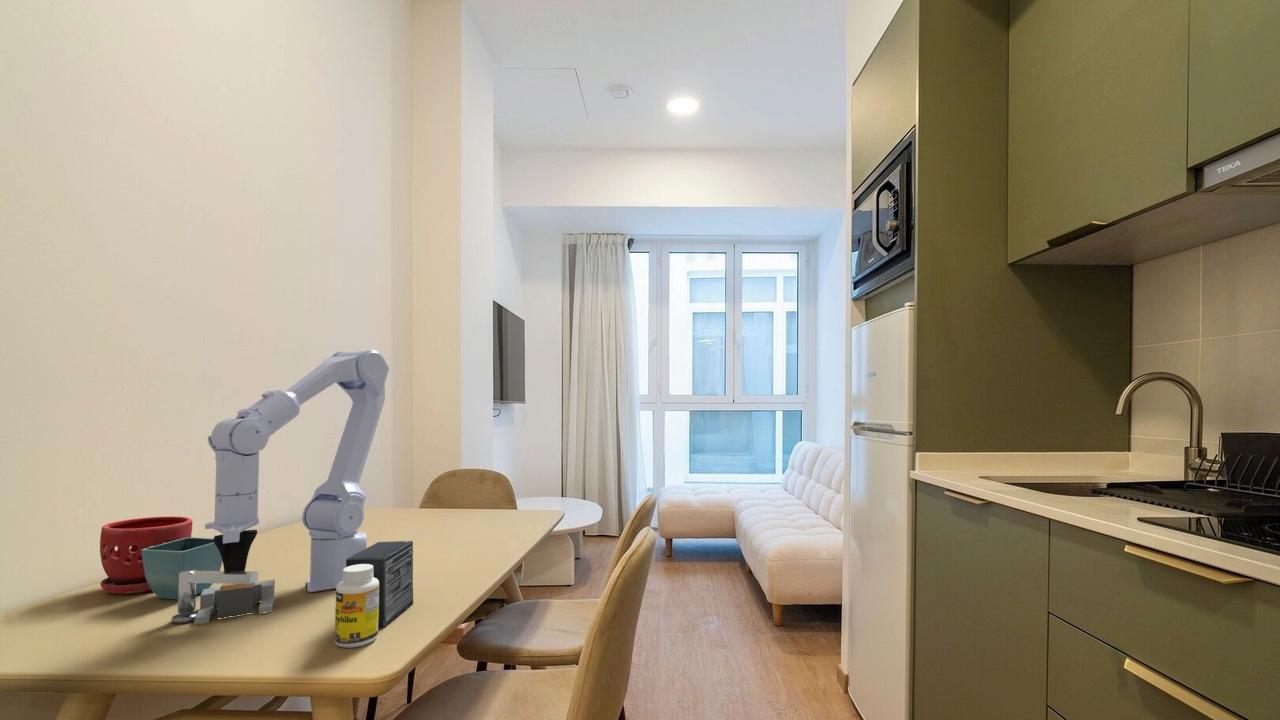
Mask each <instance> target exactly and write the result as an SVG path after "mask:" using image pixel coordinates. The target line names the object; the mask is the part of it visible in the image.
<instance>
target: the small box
mask: <svg viewBox="0 0 1280 720" xmlns="http://www.w3.org/2000/svg"><path fill="white" fill-rule="evenodd" d="M413 562H414V542H413V540H402V541H401V540H399V541H396V540H394V541H378V542H375V543H374V544H371V545H370V546H367V548H366V549H364V550H362V551H361V552H359V553H357V554H355V555H353V556H351V557H349V558H347V559H346V567H348V566H352V565H357V564H370V565H373V573H374V574H373V577H374V578H376V579H378V581H379V618H378V619H379V620H378V629H385V628H386V627H387V626H389V625H390V624H391V623H392V622H394V621H395V620H396V619H398V618H399V616H401V613H402V614H403V613H404V612H405V611H407V609H408V608H410V607H411V606H413V604H414V575H413V574H414V563H413ZM394 619H395V620H394Z"/></svg>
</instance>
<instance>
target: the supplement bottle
mask: <svg viewBox="0 0 1280 720" xmlns="http://www.w3.org/2000/svg"><path fill="white" fill-rule="evenodd" d="M373 574H374V573H373V565H370V564H357V565H352V566H348V567H346V568H344V569H343V576H342V578H343V579H342V580H343V581H342V582H340V583H339V584H338V585H337V587H336V588H335V610H334V611H335V614H334V615H335V616H334V617H335V619H334V621H335V623H334V642H335V645H337V646H338V647H340V648H346V649H351V648H352V649H353V648H358V647H362V646H366V645H368V644H371V643H372V642H373V641H375V640H377V637H378V635H379V628H378V620H379V619H378V618H379V581H378V579H376V578H374V577H373Z"/></svg>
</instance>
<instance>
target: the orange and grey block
mask: <svg viewBox="0 0 1280 720" xmlns="http://www.w3.org/2000/svg"><path fill="white" fill-rule="evenodd" d="M220 587H221V588H220V590H219V595H218V609H217V619H218V618H224V617H229V616H236V617H238V616H237V615H242V614H247V613H252V614H253V612H252V611H254V608H255V603H254V592H255V582H253V583H251V584H224V583H222V584H221V586H220ZM253 607H254V608H253ZM242 616H243V615H242ZM224 619H225V618H224Z"/></svg>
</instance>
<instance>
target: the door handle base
mask: <svg viewBox="0 0 1280 720" xmlns="http://www.w3.org/2000/svg"><path fill="white" fill-rule="evenodd" d="M198 611H199V610H194V611H191V612H188V613H177V614H175V615H173V616H172V617H171V622H172V623H171V624H172V625H183V624H190V623H192V622H195V617H196V615H197V613H198Z"/></svg>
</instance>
